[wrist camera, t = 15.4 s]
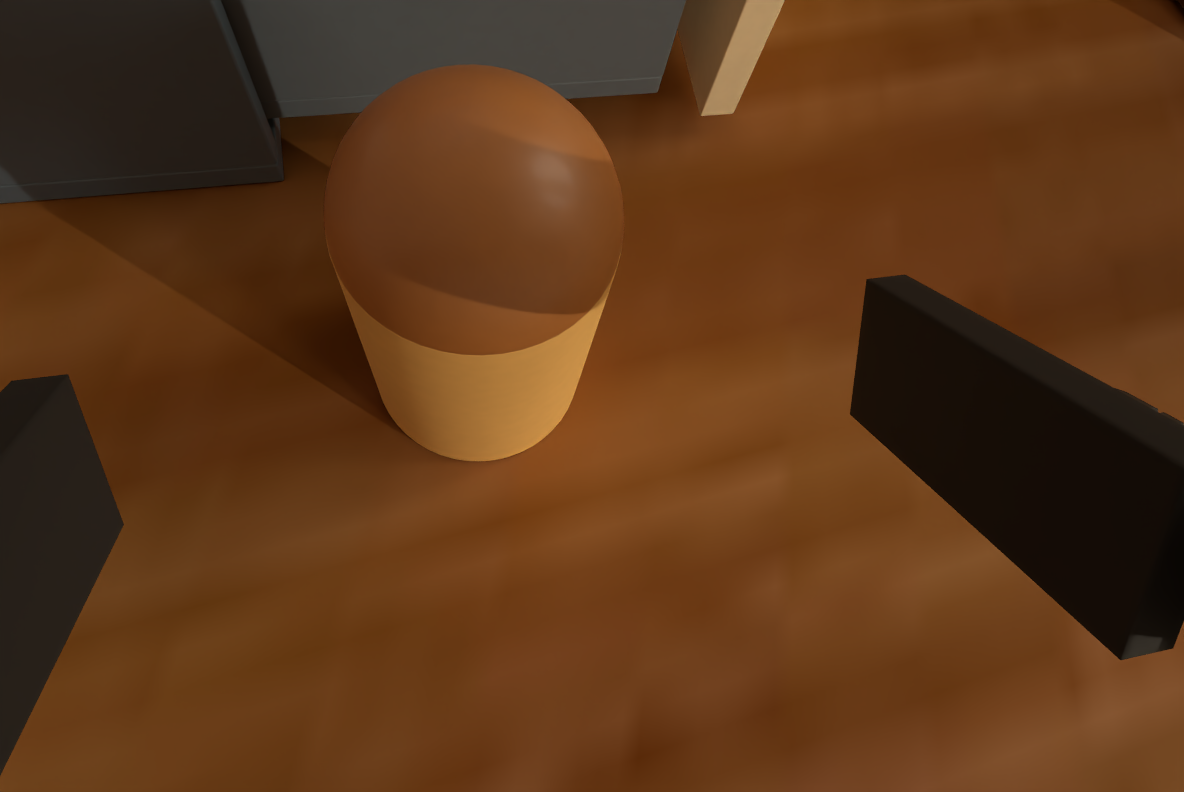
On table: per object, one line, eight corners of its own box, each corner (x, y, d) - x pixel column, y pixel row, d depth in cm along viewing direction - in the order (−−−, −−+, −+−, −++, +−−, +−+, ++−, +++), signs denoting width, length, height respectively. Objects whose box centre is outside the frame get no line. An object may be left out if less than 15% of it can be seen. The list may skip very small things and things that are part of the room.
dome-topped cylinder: (617, 379, 25) (721, 163, 14) (462, 504, 23) (447, 362, 12) (492, 240, 26) (501, -59, 15) (334, 349, 24) (217, 96, 13)
